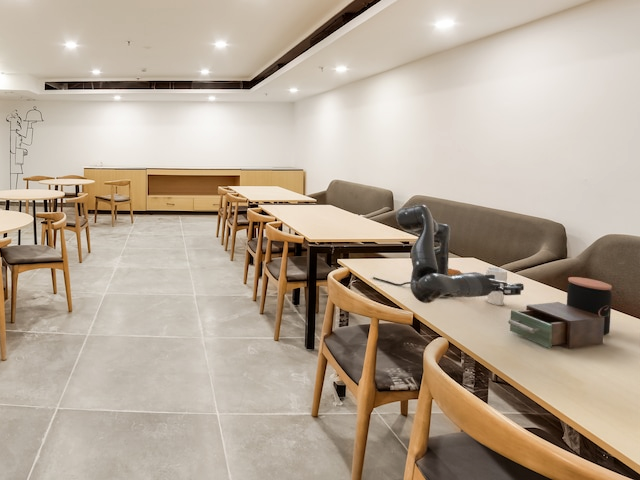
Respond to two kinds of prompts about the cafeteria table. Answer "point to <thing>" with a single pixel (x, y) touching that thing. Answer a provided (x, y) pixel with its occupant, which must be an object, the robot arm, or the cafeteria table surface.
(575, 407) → the cafeteria table surface
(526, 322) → the drawer
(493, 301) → the white cup
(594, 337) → the cabinet
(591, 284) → the coffee jar
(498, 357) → the cafeteria table surface
